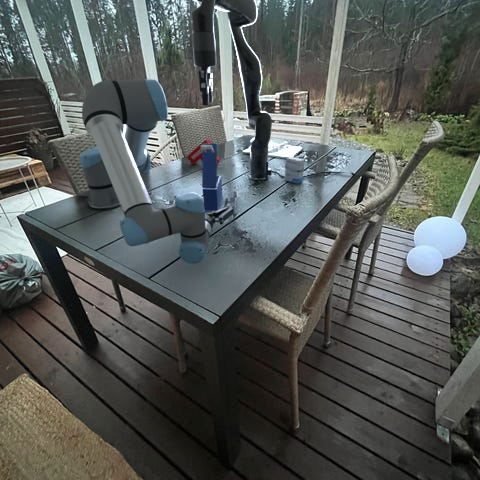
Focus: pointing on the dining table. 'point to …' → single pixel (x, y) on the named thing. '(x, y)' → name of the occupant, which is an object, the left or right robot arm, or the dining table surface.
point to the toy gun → (199, 153)
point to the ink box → (294, 170)
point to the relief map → (280, 150)
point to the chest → (213, 197)
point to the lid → (209, 165)
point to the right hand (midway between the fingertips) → (207, 103)
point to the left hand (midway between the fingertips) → (209, 201)
